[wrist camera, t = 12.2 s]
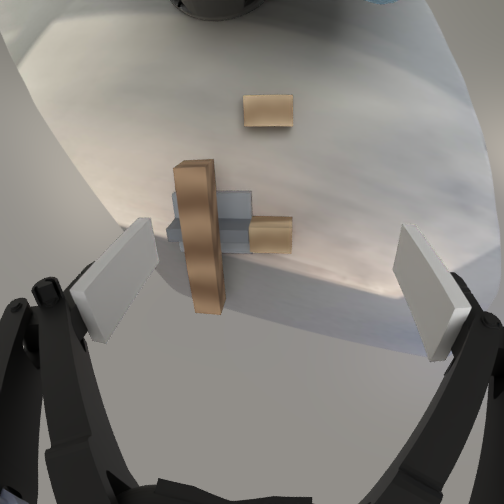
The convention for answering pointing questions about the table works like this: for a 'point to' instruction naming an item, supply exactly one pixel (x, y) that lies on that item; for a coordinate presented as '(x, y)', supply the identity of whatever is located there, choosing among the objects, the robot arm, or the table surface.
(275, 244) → the block
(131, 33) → the table surface
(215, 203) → the walnut bar
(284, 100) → the block
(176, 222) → the fulcrum
